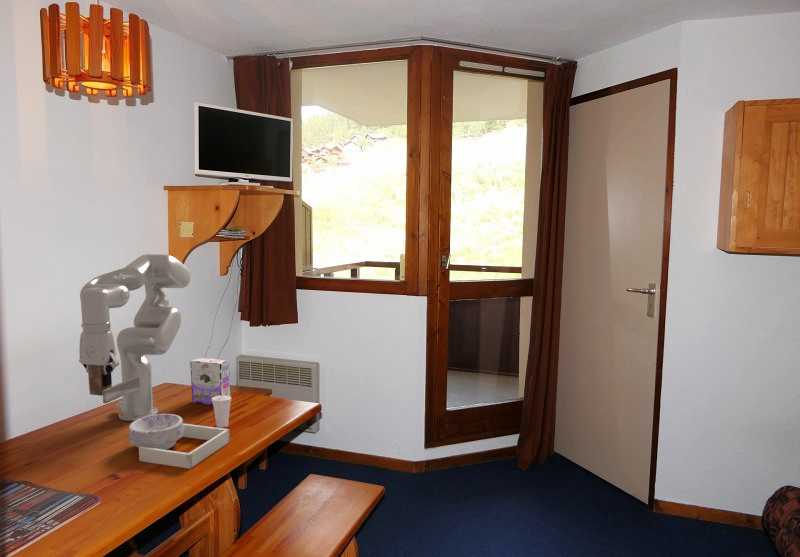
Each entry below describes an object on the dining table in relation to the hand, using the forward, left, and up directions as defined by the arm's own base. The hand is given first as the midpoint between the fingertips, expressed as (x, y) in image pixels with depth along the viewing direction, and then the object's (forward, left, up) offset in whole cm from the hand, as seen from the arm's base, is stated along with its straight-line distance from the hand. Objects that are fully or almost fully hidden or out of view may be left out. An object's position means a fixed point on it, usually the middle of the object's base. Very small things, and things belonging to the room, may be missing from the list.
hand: (100, 384), depth 177 cm
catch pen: (+31, 0, -18) cm, 36 cm away
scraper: (+3, 0, -3) cm, 4 cm away
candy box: (+11, +41, -18) cm, 46 cm away
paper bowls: (+20, 0, -18) cm, 27 cm away
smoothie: (+29, +21, -18) cm, 40 cm away
